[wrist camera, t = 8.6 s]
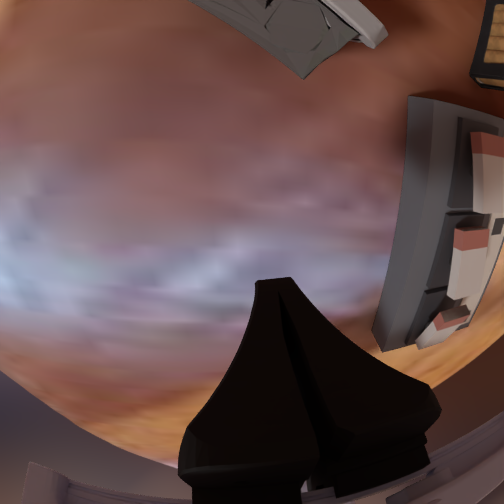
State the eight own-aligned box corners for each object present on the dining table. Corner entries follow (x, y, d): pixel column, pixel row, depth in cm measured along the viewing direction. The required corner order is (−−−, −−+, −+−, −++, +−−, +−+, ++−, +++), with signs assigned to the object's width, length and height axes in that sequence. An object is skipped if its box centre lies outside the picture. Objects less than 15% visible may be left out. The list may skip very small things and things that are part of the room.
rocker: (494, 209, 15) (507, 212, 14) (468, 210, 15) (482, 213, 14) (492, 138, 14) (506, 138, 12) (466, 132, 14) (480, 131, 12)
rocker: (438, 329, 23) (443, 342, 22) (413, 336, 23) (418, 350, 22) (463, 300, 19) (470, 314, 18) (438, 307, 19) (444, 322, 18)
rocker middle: (469, 286, 19) (479, 292, 17) (443, 292, 19) (454, 300, 17) (477, 224, 17) (489, 228, 16) (451, 226, 17) (463, 231, 16)
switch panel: (455, 309, 27) (470, 329, 24) (371, 330, 27) (384, 356, 24) (503, 119, 16) (530, 129, 13) (407, 95, 15) (438, 100, 12)
